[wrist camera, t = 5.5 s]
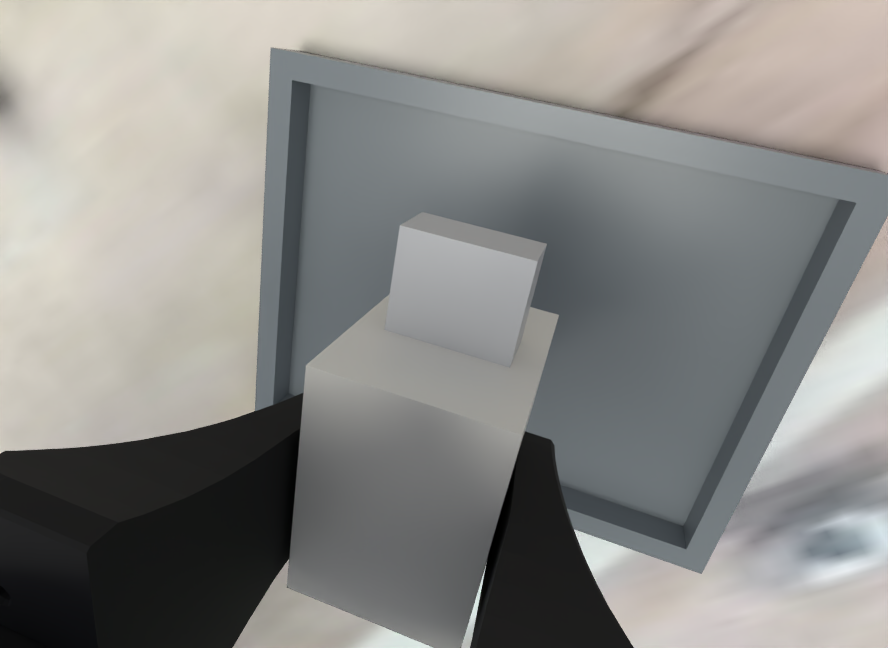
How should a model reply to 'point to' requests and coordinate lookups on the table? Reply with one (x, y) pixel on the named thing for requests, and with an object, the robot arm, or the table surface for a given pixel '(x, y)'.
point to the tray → (575, 272)
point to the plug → (419, 431)
